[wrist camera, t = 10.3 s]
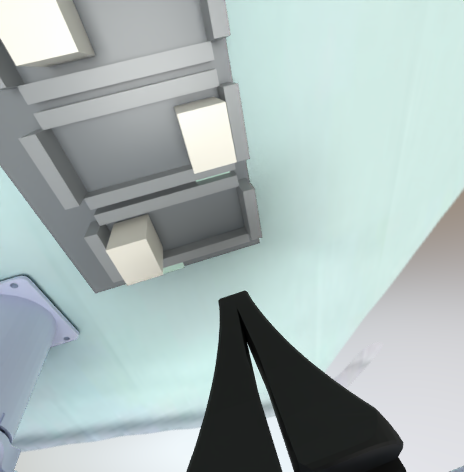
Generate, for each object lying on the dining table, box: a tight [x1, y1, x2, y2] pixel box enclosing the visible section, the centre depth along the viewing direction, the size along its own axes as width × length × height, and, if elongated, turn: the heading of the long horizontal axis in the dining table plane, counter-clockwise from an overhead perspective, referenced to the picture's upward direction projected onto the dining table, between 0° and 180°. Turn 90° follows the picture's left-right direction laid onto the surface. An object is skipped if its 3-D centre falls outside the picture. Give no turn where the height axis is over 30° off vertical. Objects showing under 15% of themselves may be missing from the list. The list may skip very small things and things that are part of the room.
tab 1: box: [0, 0, 95, 67], centre depth 10 cm, size 2×3×3 cm
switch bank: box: [0, 0, 262, 293], centre depth 15 cm, size 14×20×3 cm
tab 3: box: [174, 97, 237, 174], centre depth 14 cm, size 2×3×3 cm
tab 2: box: [106, 214, 163, 286], centre depth 17 cm, size 2×3×3 cm
